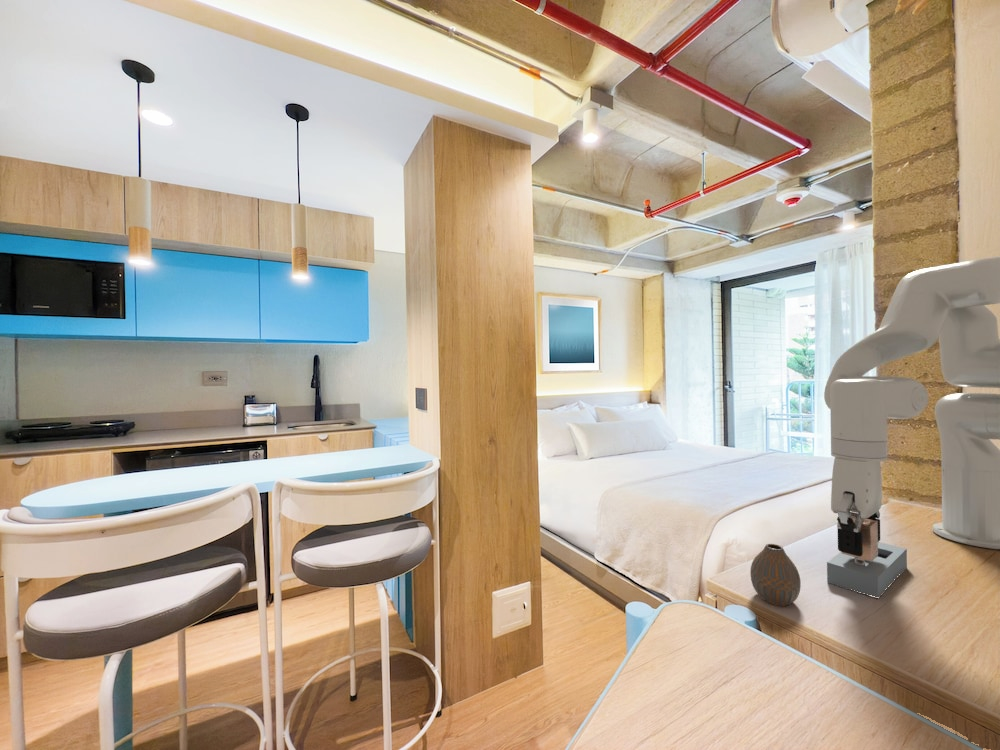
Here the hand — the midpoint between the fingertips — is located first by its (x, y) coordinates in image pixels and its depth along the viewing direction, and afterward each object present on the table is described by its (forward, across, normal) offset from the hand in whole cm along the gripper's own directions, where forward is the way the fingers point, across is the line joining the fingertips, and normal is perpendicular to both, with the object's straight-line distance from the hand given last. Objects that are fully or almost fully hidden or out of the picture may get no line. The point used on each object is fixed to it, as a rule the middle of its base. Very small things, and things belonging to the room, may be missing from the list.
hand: (859, 545), depth 73 cm
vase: (+7, +17, -6) cm, 20 cm away
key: (+6, 0, 0) cm, 6 cm away
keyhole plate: (+6, -5, 0) cm, 8 cm away
